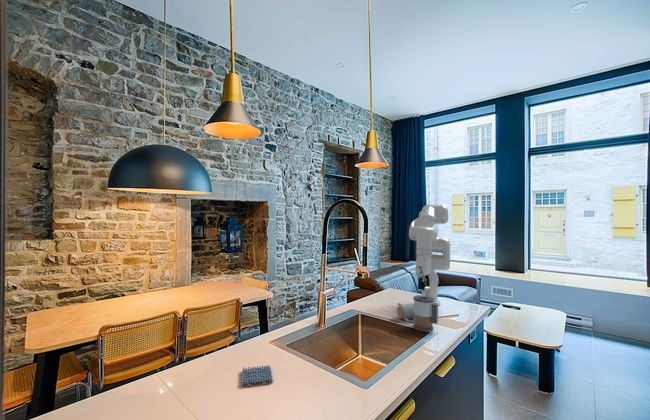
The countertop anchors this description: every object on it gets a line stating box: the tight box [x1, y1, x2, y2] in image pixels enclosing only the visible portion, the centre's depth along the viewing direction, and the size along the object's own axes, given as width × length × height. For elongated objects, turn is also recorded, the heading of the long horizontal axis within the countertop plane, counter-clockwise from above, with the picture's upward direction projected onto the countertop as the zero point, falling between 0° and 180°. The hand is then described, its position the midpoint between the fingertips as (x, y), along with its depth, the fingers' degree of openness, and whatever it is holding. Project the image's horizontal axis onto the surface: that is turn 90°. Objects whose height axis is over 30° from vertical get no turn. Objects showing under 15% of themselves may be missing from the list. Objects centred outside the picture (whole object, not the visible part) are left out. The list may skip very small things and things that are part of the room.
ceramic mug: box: [396, 303, 414, 324], centre depth 159 cm, size 11×8×8 cm
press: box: [412, 294, 439, 332], centre depth 147 cm, size 10×12×15 cm
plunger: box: [421, 278, 430, 299], centre depth 147 cm, size 6×6×13 cm
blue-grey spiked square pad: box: [240, 364, 274, 389], centre depth 100 cm, size 10×11×2 cm
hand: (423, 287), depth 147 cm, fingers closed on plunger, 6 cm apart
